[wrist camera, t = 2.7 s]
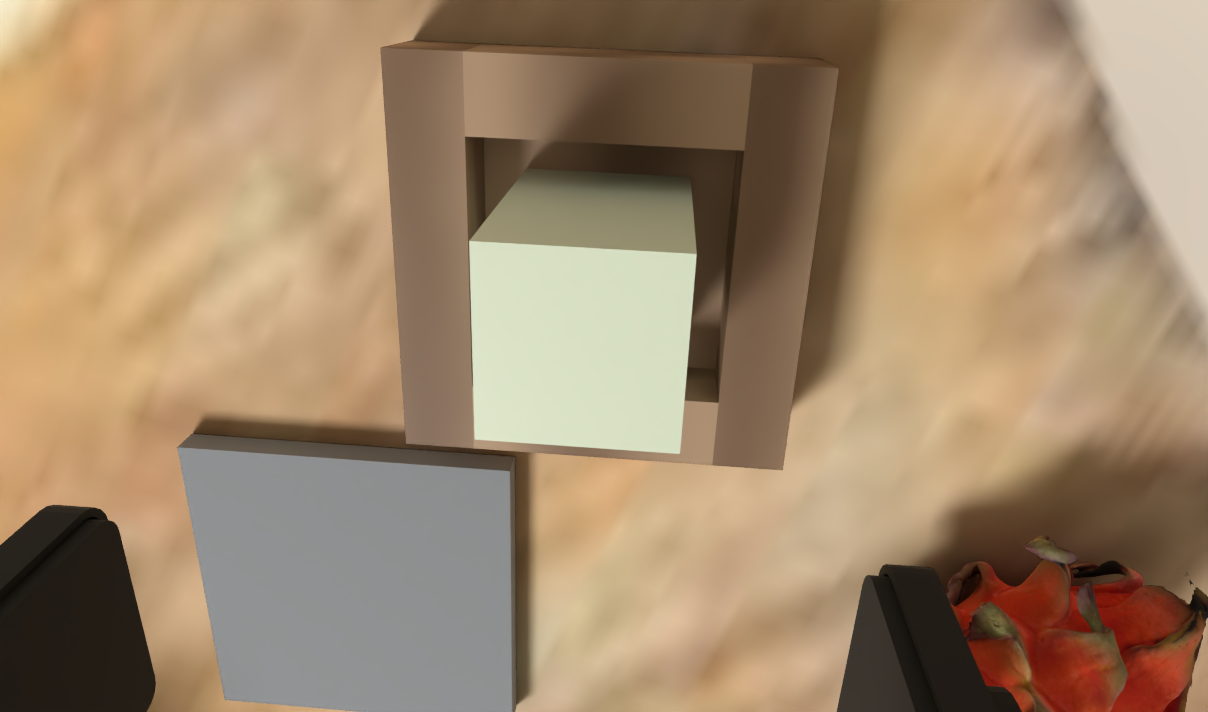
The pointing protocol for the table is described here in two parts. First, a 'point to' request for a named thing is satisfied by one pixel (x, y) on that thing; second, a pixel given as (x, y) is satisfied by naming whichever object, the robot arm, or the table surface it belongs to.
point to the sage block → (584, 311)
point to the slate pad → (356, 573)
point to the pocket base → (613, 145)
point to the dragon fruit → (1080, 636)
